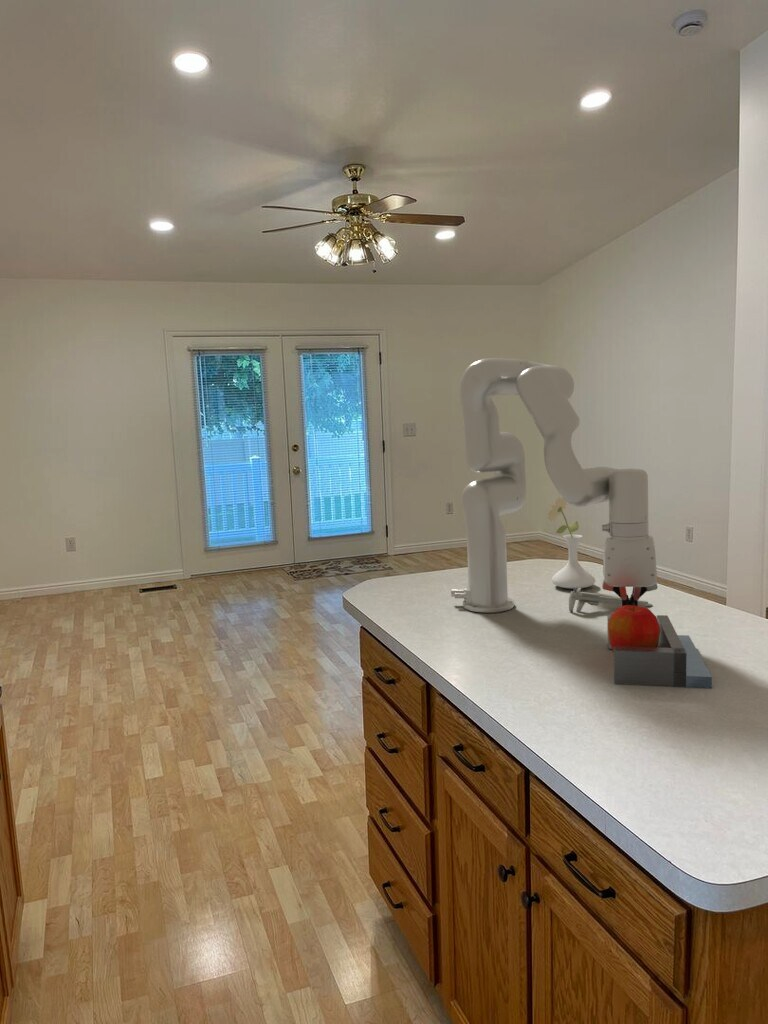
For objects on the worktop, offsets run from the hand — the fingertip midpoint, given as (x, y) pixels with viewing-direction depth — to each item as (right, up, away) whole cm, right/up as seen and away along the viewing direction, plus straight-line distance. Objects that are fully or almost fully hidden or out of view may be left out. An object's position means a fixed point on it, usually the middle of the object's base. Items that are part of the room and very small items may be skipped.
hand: (629, 617), depth 145 cm
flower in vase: (-1, +1, +43) cm, 43 cm away
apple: (-5, -7, -15) cm, 17 cm away
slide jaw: (-2, -5, -6) cm, 8 cm away
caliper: (+3, -2, +21) cm, 22 cm away
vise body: (0, -6, -14) cm, 16 cm away
